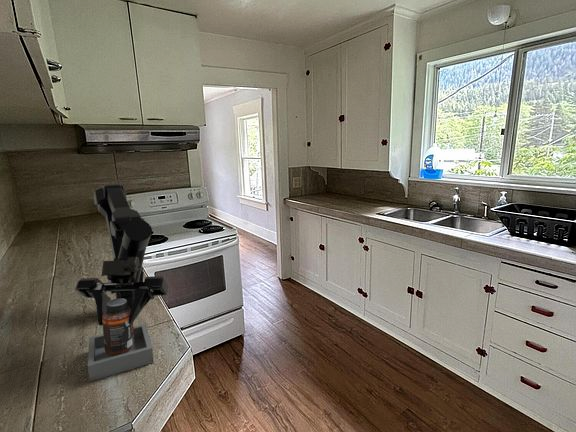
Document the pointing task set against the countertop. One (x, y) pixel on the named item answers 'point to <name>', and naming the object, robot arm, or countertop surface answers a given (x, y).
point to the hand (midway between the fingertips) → (115, 324)
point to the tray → (113, 364)
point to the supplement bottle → (117, 327)
